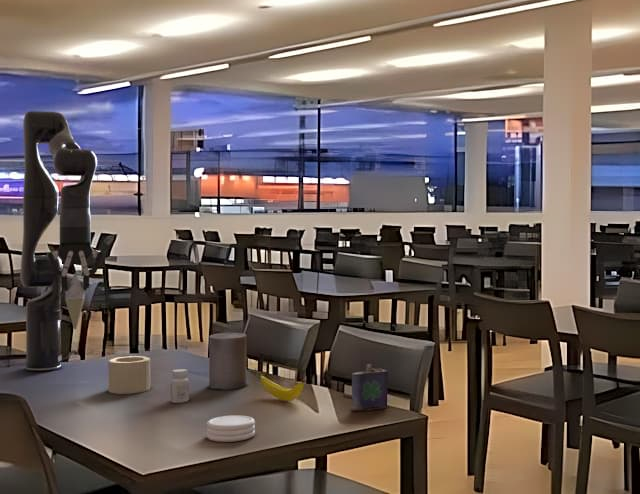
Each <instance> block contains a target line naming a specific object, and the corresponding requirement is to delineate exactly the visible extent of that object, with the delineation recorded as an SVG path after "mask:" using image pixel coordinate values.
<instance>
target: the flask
mask: <svg viewBox="0 0 640 494" xmlns="http://www.w3.org/2000/svg"><path fill="white" fill-rule="evenodd" d="M364 366H366V368H365V371H357V372H353V373H352V374H351V411H353V412H363V411H372V410H377V409H379V410H380V409H387V408H388V392H389V391H388V382H389V378H388V377H389V372H388V370H387V369H383V368H373V367H372V363H367V364H365V365H364Z"/></svg>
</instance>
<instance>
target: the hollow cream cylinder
mask: <svg viewBox="0 0 640 494" xmlns="http://www.w3.org/2000/svg"><path fill="white" fill-rule="evenodd" d="M150 390H151V358H150V357H149V356H145V355H143V356H142V355H129V356H119V357H113V358H109V359H108V392H109V393H111V394H115V395H130V394H137V393H138V394H141V393H145V392H147V391H150Z"/></svg>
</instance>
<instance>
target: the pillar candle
mask: <svg viewBox="0 0 640 494" xmlns="http://www.w3.org/2000/svg"><path fill="white" fill-rule="evenodd" d="M208 338H209V349H208V352H209V353H208V354H209V356H208V357H209V361H208V362H209V363H208V365H209V367H208V369H209V370H208V374H209V377H208V380H209V381H208V386H209V388H210V389H212V390H223V391H224V390H225V391H226V390H227V391H228V390H237V389H241V388H244V387H246V386H247V334H245V333H242V332H230V330H228V331H227V332H220V333H213V334H211V335H208Z"/></svg>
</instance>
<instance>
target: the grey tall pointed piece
mask: <svg viewBox="0 0 640 494" xmlns="http://www.w3.org/2000/svg"><path fill="white" fill-rule="evenodd" d="M64 293H65V296H64V297H65V298H64V300H65V301H64V302H65V304H66V308H67V310H68V314H69V317H70V320H71V323H72V328H73V330H77V327H78V323H79V320H80V318H81V317H80V316H81V314H82V309H83V306H84V303H85V299H86V290H84V289H83V285H81V281H80V280H79V278H78V275H77V273H76V272H74V274H73V276H72V278H71V281H70V282H69V286H67V291H64Z"/></svg>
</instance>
